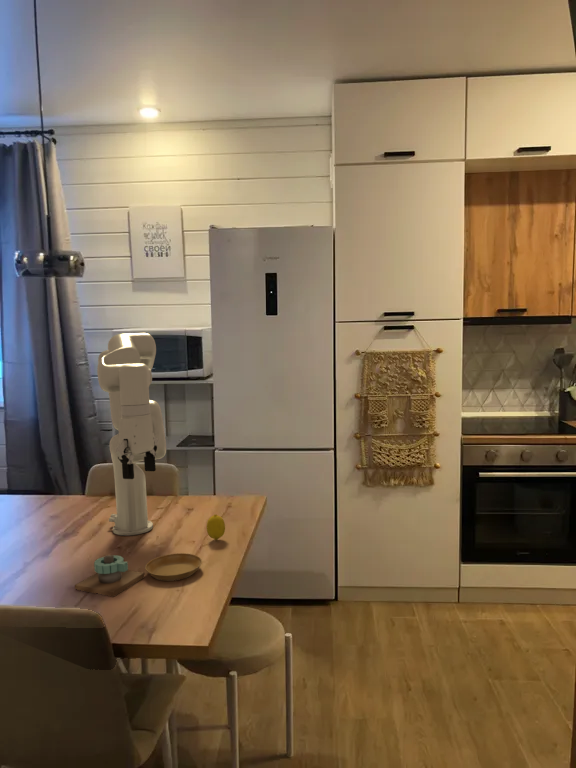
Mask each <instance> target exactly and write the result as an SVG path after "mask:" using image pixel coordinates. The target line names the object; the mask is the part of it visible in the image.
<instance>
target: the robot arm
mask: <svg viewBox="0 0 576 768" xmlns="http://www.w3.org/2000/svg"><path fill="white" fill-rule="evenodd" d="M156 354H157V346H156V341H155V339H154V337H153V336H152V335H151V334H150V333H146V332H135V333H133V332H132V333H131V332H129V333H118V334H114V335H113V336H112V337H111V338H110V339H109V340H108V343H107V349H105V350H104V351H102V352H100V353H99V355H98V357H97V358H98V360H97V370H96V371H97V373H96V374H97V379H98V380H97V382H98V384H99V387H100V388H101V390H102V391H103V392H106V393H108V396H109V398H108V399H109V405H110V406H109V409H110V417H111V418H110V419H111V422H112V423H111V424H112V425H113V428H114V429H115V430H117V431H118V433H117V434H115V435H113V436H112V437H111V438H110V440H109V451H110V455H111V456H110V457H111V461H112V468H113V476H114V490H115V505H116V506H115V507H116V513H112V514H110V517H109V518H108V521H109V522H111V523H114V526H113V527H112V532H113V534H115V535H118V536H124V537H125V536H137V535H141V534H144V533H148V532H150V531H151V530H153V528H154V524H153V522H152V521H151V520H149V519H148V515H149V514H148V503H147V502H148V501H147V500H148V499H147V486H146V485H147V484H146V474H145V472H155V471H156V470H157V468H156V460H160V459H163V458H164V457H165V455H166V453H167V440H166V433H165V427H164V421H163V420H164V419H163V414H162V408H161V406H160V404H159V402H157V401H156V400H152V399H150V385H151V384H152V382H153V373H152V369H153V366H154V363H155V360H156V359H155V358H156ZM138 462H143V463H144V465H143V466H144V470H143V469H142V468H141V467H140V465H138V464H137V463H138ZM144 471H145V472H144Z"/></svg>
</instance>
